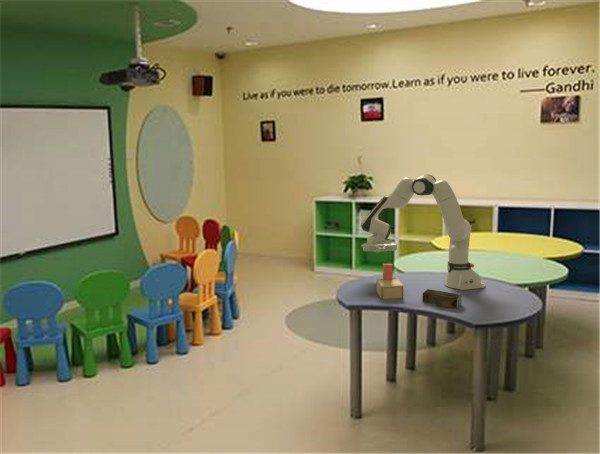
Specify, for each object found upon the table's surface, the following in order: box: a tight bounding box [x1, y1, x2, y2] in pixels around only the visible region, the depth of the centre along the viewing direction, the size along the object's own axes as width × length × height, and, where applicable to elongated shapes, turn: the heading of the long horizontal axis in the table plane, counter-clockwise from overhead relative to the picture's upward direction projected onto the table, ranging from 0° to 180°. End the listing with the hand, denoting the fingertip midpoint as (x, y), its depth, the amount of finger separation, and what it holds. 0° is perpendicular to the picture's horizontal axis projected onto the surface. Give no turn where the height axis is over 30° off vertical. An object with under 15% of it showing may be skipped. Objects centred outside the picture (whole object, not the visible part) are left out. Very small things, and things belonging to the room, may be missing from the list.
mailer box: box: [375, 280, 404, 300], centre depth 310 cm, size 14×12×7 cm
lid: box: [375, 263, 404, 288], centre depth 309 cm, size 14×12×10 cm
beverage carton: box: [422, 288, 463, 310], centre depth 296 cm, size 8×19×7 cm, turn 57°
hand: (382, 249), depth 325 cm, fingers closed
